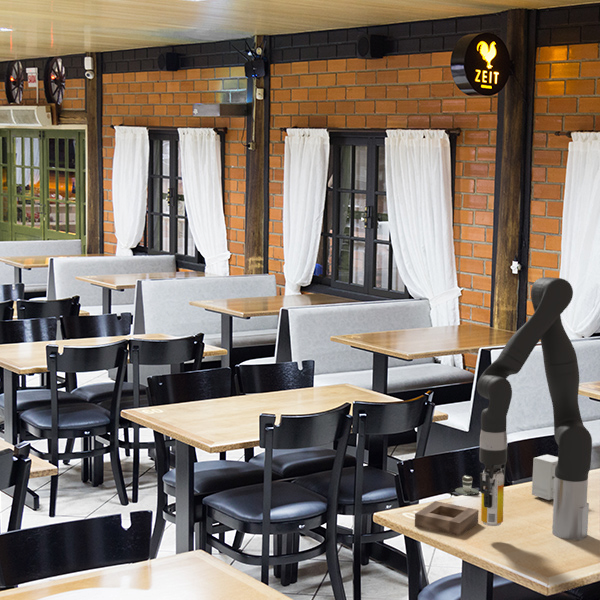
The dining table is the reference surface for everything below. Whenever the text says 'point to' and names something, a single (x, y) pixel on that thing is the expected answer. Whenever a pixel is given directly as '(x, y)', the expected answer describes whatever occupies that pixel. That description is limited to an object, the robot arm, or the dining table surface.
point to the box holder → (446, 518)
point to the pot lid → (467, 486)
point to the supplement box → (544, 476)
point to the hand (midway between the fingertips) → (492, 503)
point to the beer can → (494, 503)
